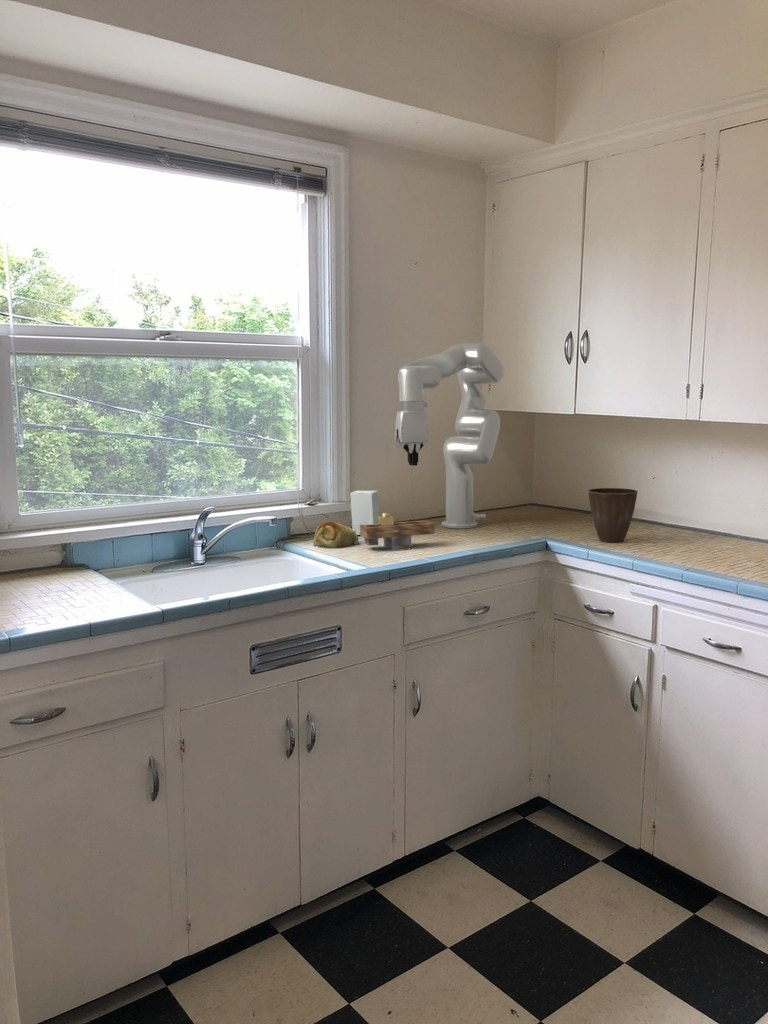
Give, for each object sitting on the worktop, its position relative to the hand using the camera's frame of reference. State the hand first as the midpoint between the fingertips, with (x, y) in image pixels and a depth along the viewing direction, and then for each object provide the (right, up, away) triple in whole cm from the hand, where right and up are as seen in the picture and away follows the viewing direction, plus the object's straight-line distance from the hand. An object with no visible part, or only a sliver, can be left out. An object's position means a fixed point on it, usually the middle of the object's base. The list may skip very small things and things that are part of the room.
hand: (413, 464), depth 258 cm
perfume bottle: (-9, -20, -10) cm, 24 cm away
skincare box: (-15, -23, +14) cm, 31 cm away
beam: (-5, -26, -7) cm, 27 cm away
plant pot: (+63, -24, -1) cm, 67 cm away
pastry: (-24, -26, -2) cm, 36 cm away
